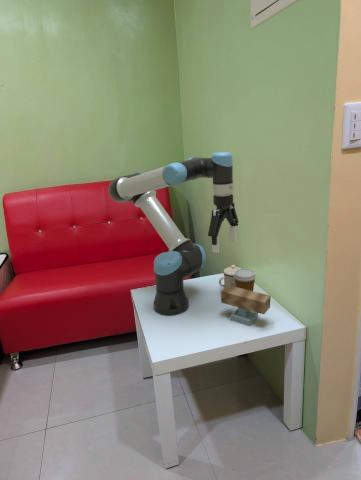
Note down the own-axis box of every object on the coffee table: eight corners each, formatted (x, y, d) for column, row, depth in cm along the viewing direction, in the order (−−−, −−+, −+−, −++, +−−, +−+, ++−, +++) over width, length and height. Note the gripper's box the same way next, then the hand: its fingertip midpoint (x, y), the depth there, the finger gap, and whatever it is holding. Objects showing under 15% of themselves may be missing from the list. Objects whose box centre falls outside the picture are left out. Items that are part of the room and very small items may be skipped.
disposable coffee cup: (256, 303, 149) (256, 277, 145) (233, 302, 151) (232, 277, 147) (256, 292, 157) (256, 268, 154) (234, 292, 159) (234, 268, 156)
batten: (221, 302, 139) (220, 291, 138) (228, 296, 144) (228, 285, 142) (263, 314, 129) (264, 302, 128) (270, 307, 134) (270, 295, 132)
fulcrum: (230, 320, 138) (230, 306, 136) (239, 310, 144) (239, 297, 142) (249, 325, 133) (249, 311, 131) (258, 315, 140) (258, 302, 138)
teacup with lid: (237, 282, 168) (236, 260, 164) (247, 290, 160) (247, 267, 156) (214, 288, 164) (214, 265, 160) (224, 296, 156) (223, 272, 152)
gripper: (215, 202, 121) (216, 258, 128) (246, 188, 140) (246, 238, 147) (196, 200, 126) (199, 255, 133) (229, 187, 145) (230, 236, 152)
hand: (224, 246), depth 140 cm, fingers open, 13 cm apart
